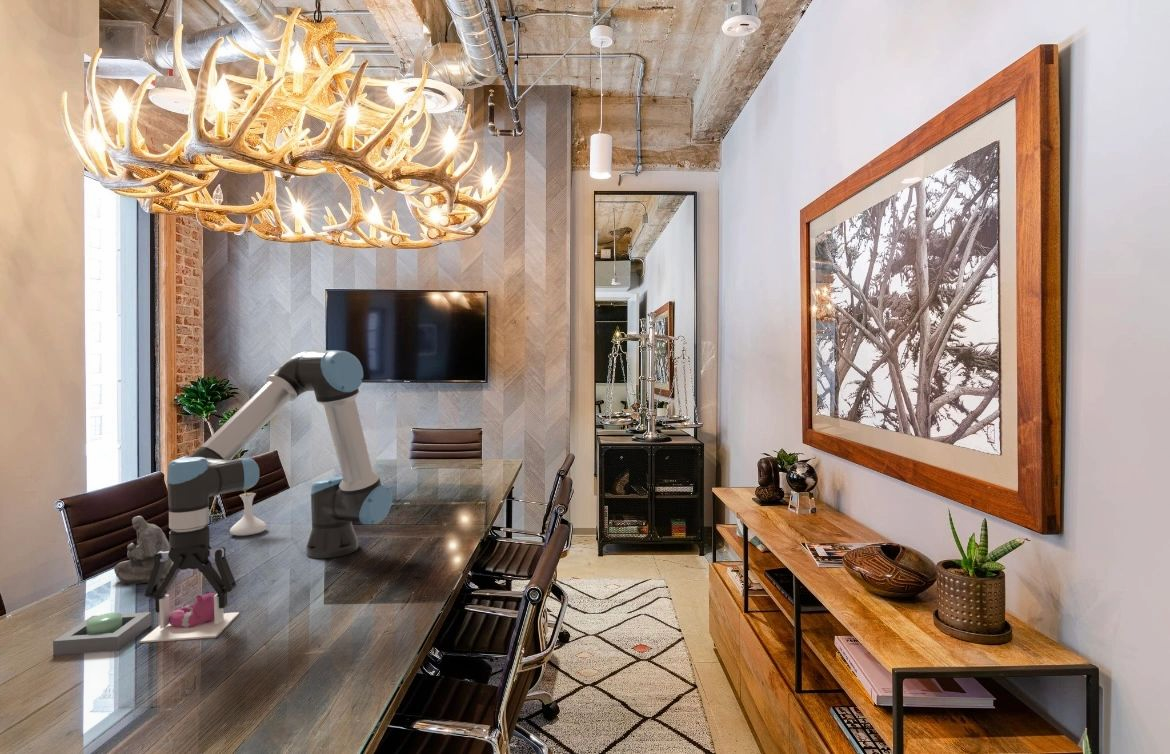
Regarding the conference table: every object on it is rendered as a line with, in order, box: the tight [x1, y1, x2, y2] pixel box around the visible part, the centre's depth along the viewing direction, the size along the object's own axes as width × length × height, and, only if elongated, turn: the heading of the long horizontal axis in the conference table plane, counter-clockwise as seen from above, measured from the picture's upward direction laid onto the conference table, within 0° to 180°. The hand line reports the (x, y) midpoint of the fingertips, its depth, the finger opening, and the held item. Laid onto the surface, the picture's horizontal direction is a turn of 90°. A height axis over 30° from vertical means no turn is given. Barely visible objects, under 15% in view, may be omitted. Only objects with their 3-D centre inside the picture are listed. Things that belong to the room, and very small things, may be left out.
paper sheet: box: [139, 611, 240, 644], centre depth 133 cm, size 15×12×1 cm
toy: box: [170, 592, 217, 627], centre depth 135 cm, size 11×9×10 cm
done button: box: [86, 612, 123, 635], centre depth 127 cm, size 6×6×3 cm
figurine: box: [113, 515, 173, 586], centre depth 164 cm, size 13×12×18 cm
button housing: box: [52, 611, 152, 656], centre depth 128 cm, size 12×12×3 cm
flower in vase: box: [229, 487, 268, 537], centre depth 205 cm, size 13×11×25 cm
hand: (192, 623), depth 133 cm, fingers closed on toy, 10 cm apart
